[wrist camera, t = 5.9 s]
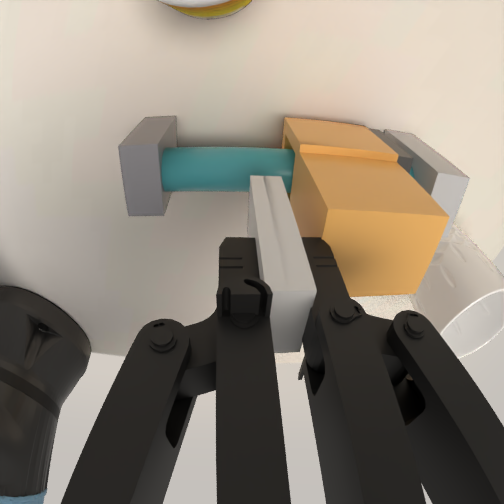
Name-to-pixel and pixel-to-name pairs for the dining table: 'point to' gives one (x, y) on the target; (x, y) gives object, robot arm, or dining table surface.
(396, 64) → the dining table surface
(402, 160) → the teal axle dumbbell
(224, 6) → the supplement bottle
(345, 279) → the sleeve
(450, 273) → the white cup
